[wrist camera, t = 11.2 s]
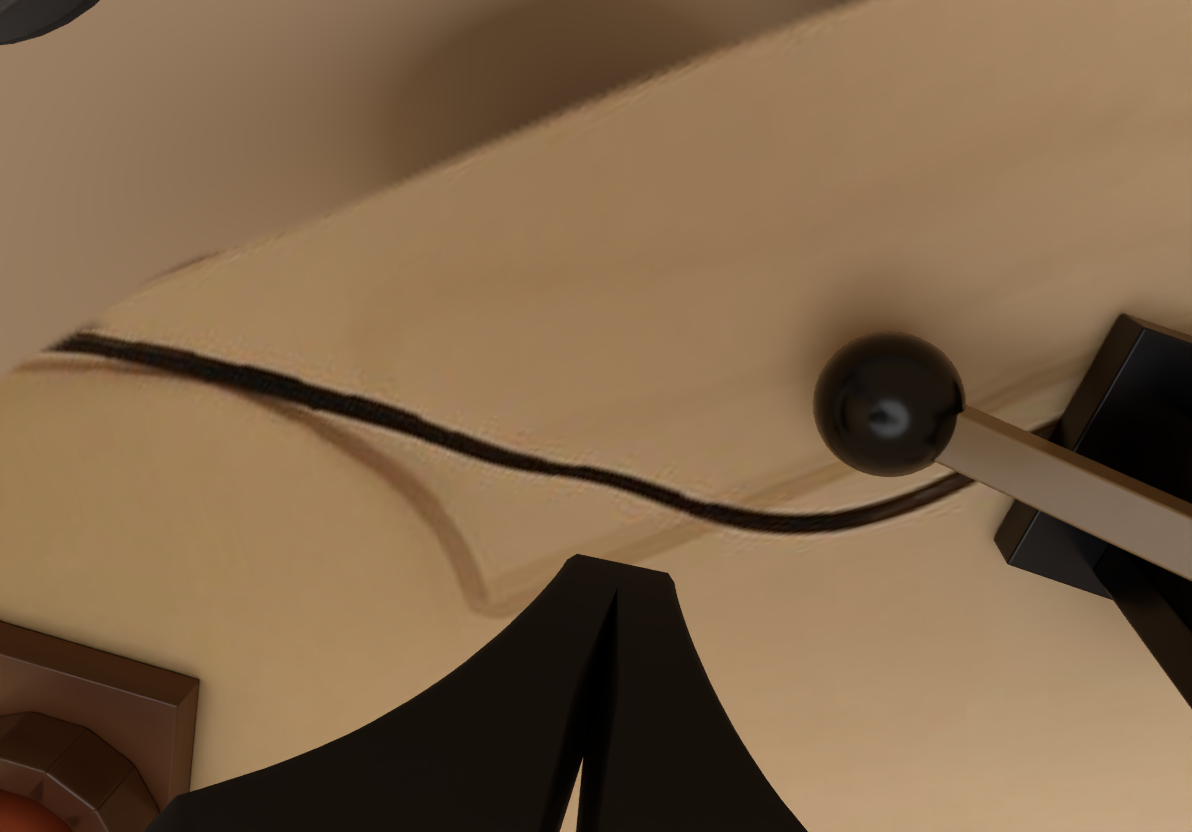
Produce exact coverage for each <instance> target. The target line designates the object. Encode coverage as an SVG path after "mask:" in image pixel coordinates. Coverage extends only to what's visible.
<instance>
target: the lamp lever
mask: <svg viewBox="0 0 1192 832" xmlns="http://www.w3.org/2000/svg"><path fill="white" fill-rule="evenodd" d="M813 413H814V418H815V423H816V426H817V429H818V431H819V433H820V435H821V437H822V439H823V441H824V442H825V444H826V446H827V447H828V448H829V449H830V451H831V452H832V453H833V454H834V455H835V456H836V457H837V458H838V459H840V460H841V461H842V462H844V463H845V464H846V465H848V466H850V467H852V468H854V469H856V470H858V471H861V472H863V473H867V474H870V475H875V476H881V477H897V476H904V475H908V474H912V473H915V472H917V471H920V470H923V469H924V468H926V467H928V466H930V465H932V464H933V463H935V462H937V463H939V464H941V465H943V466H946V467H948V468H950V469H952V470H954V471H956V472H958V473H961V474H963V475H965V476H967V477H969V478H971V479H973V480H976V481H978V482H980V483H982V484H984V485H986V486H988V487H991V488H993V489H995V490H997V491H999V492H1001V493H1003V494H1006V495H1008V496H1010V497H1012V498H1014V499H1016V500H1019V501H1021V502H1023V503H1025V504H1027V505H1029V506H1031V507H1034V508H1036V509H1038V510H1040V511H1042V512H1044V513H1046V514H1049V515H1051V516H1053V517H1055V518H1057V519H1059V520H1061V521H1064V522H1066V523H1068V524H1070V525H1072V526H1074V527H1076V528H1079V529H1081V530H1083V531H1085V532H1087V533H1089V534H1091V535H1094V536H1096V537H1098V538H1100V539H1102V540H1104V541H1106V542H1109V543H1111V544H1113V545H1115V546H1117V547H1119V548H1121V549H1124V550H1126V551H1128V552H1130V553H1132V554H1134V555H1136V556H1139V557H1141V558H1143V559H1145V560H1147V561H1149V562H1151V563H1154V564H1156V565H1158V566H1160V567H1162V568H1164V569H1166V570H1169V571H1171V572H1173V573H1175V574H1177V575H1179V576H1181V577H1184V578H1186V579H1188V580H1190V581H1192V504H1191V503H1188V502H1186V501H1184V500H1182V499H1179V498H1177V497H1175V496H1173V495H1170V494H1168V493H1166V492H1163V491H1161V490H1159V489H1157V488H1154V487H1152V486H1150V485H1148V484H1145V483H1143V482H1141V481H1138V480H1136V479H1134V478H1132V477H1129V476H1127V475H1125V474H1122V473H1120V472H1118V471H1116V470H1113V469H1111V468H1109V467H1107V466H1104V465H1102V464H1100V463H1097V462H1095V461H1093V460H1091V459H1088V458H1086V457H1084V456H1081V455H1079V454H1077V453H1075V452H1072V451H1070V450H1068V449H1066V448H1063V447H1061V446H1059V445H1056V444H1054V443H1052V442H1050V441H1047V440H1045V439H1043V438H1041V437H1038V436H1036V435H1034V434H1031V433H1029V432H1027V431H1025V430H1022V429H1020V428H1018V427H1015V426H1013V425H1011V424H1009V423H1006V422H1004V421H1002V420H1000V419H997V418H995V417H993V416H990V415H988V414H986V413H984V412H981V411H979V410H977V409H975V408H972V407H970V406H968V405H966V400H965V392H964V387H963V384H962V380H961V378H960V376H959V374H958V372H957V370H956V368H955V367H954V365H953V363H952V362H951V361H950V360H949V358H948V357H947V356H946V355H945V354H944V353H943V352H942V351H941V350H939V349H938V348H937V347H936V346H934V345H933V344H931V343H930V342H928V341H926V340H924V339H922V338H920V337H917V336H914V335H911V334H906V333H902V332H878V333H872V334H869V335H866V336H862V337H860V338H858V339H855V340H853V341H851V342H850V343H848V344H846V345H845V346H843V347H842V348H841V349H840V350H838V351H837V352H836V353H835V354H834V355H833V356H832V357H831V358H830V360H829V361H828V362H827V363H826V365H825V366H824V368H823V370H822V371H821V373H820V375H819V378H818V380H817V383H816V387H815V391H814V397H813Z"/></svg>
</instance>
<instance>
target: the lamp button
mask: <svg viewBox="0 0 1192 832" xmlns="http://www.w3.org/2000/svg"><path fill="white" fill-rule="evenodd" d="M0 832H72V830H71V828H70V827H69V825H68V824H67V823H66V822H65V821H63V820H62V819H61V818H59V817H58V816H57V815H55V814H54V813H53V812H51V811H50V810H49V809H47V808H46V807H45V806H43V805H42V804H41V803H39V802H38V801H37V800H35V799H32V798H28V797H25V796H22V795H18V794H15V793H12V792H8V791H5V790H2V789H0Z"/></svg>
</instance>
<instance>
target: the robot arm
mask: <svg viewBox="0 0 1192 832" xmlns="http://www.w3.org/2000/svg"><path fill="white" fill-rule="evenodd" d="M582 759H583V765H582V775H581V786H580V796H579V807H578V817H577V828H576V832H808V831H807V830H806V829H805V828H804V826H803V825H802V824H801V823H800V822H799V820H798V819H797V818H796V817H795V816H794V814H793V813H792V812H791V811H790V810H789V808H788V807H787V806H786V805H785V803H784V802H783V801H782V800H781V798H780V797H779V796H778V794H777V793H776V792H775V790H774V789H773V787H772V786H771V785H770V783H769V782H768V781H767V779H766V778H765V776H764V775H763V773H762V772H761V770H760V769H759V767H758V766H757V764H756V763H755V761H754V760H753V758H752V757H751V755H750V754H749V752H748V750H747V749H746V747H745V745H744V744H743V742H742V741H741V739H740V737H739V735H738V734H737V732H736V730H735V729H734V727H733V725H732V723H731V721H730V720H729V718H728V716H727V714H726V712H725V710H724V708H723V707H722V705H721V703H720V701H719V699H718V697H717V695H716V693H715V691H714V689H713V687H712V685H711V683H710V681H709V679H708V676H707V674H706V672H705V670H704V667H703V665H702V663H701V661H700V658H699V656H698V654H697V651H696V649H695V647H694V644H693V642H692V639H691V637H690V634H689V631H688V629H687V626H686V623H685V620H684V617H683V614H682V611H681V608H680V605H679V601H678V598H677V594H676V589H675V584H674V581H673V580H672V578H671V577H670V575H669V574H668V573H665V572H661V571H656V570H651V569H646V568H642V567H637V566H632V565H628V564H623V563H618V562H613V561H609V560H604V559H599V558H594V557H590V556H585V555H580V554H576V555H574V556H573V557H571V558H569V559H567V561H566V562H565V564H564V565H563V567H562V568H561V570H560V571H559V572H558V573H557V575H556V576H555V577H554V578H553V580H552V581H551V582H550V583H549V584H548V585H547V587H546V588H545V589H544V590H543V591H542V592H541V593H540V594H539V595H538V596H537V598H536V599H535V600H534V601H533V602H532V603H531V604H530V605H529V606H528V607H527V608H526V609H525V610H524V611H523V612H522V613H520V614H519V615H518V616H517V617H516V618H515V619H514V620H513V621H512V622H511V623H510V624H509V625H508V626H507V627H506V628H505V629H504V630H503V631H502V632H500V633H499V634H498V635H497V636H496V637H495V638H493V639H492V640H491V641H490V642H489V643H487V644H486V645H485V646H484V647H483V648H481V649H480V650H479V651H478V652H477V653H475V654H474V655H473V656H472V657H471V658H469V659H468V660H467V661H466V662H464V663H463V664H462V665H460V666H459V667H458V668H456V669H455V670H454V671H452V672H451V673H450V674H448V675H447V676H445V677H444V678H443V679H441V680H440V681H438V682H437V683H435V684H434V685H432V686H431V687H429V688H428V689H426V690H425V691H423V692H422V693H420V694H419V695H417V696H416V697H414V698H412V699H411V700H409V701H407V702H406V703H404V704H402V705H401V706H399V707H397V708H395V709H394V710H392V711H390V712H388V713H387V714H385V715H383V716H382V717H380V718H378V719H376V720H375V721H373V722H371V723H369V724H367V725H365V726H363V727H361V728H360V729H358V730H356V731H354V732H352V733H350V734H348V735H345V736H343V737H341V738H339V739H336V740H334V741H332V742H330V743H327V744H325V745H323V746H321V747H318V748H316V749H313V750H311V751H309V752H306V753H304V754H301V755H299V756H296V757H294V758H291V759H289V760H286V761H284V762H281V763H278V764H275V765H273V766H270V767H267V768H265V769H261V770H258V771H255V772H252V773H249V774H246V775H243V776H240V777H236V778H233V779H230V780H227V781H224V782H221V783H218V784H214V785H211V786H208V787H205V788H202V789H199V790H195V791H192V792H188V793H184V794H181V795H178V796H176V797H175V798H174V799H173V800H172V801H171V802H170V803H169V804H168V805H167V806H166V807H165V808H164V809H163V810H162V812H161V813H160V814H159V815H158V816H157V817H156V818H155V819H154V820H153V821H152V822H151V823H150V824H149V825H148V826H147V827H146V828H145V829H144V830H143V831H142V832H560V829H561V826H562V822H563V819H564V816H565V813H566V810H567V807H568V803H569V800H570V797H571V794H572V791H573V787H574V784H575V781H576V778H577V775H578V772H579V768H580V765H581V762H582Z"/></svg>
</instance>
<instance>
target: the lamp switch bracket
mask: <svg viewBox="0 0 1192 832" xmlns="http://www.w3.org/2000/svg"><path fill="white" fill-rule="evenodd" d="M1049 441H1050V442H1052V443H1054V444H1056V445H1059V446H1061V447H1063V448H1066V449H1068V450H1070V451H1072V452H1075V453H1077V454H1079V455H1081V456H1084V457H1086V458H1088V459H1091V460H1093V461H1095V462H1097V463H1100V464H1102V465H1104V466H1107V467H1109V468H1111V469H1113V470H1116V471H1118V472H1120V473H1122V474H1125V475H1127V476H1129V477H1132V478H1134V479H1136V480H1138V481H1141V482H1143V483H1145V484H1148V485H1150V486H1152V487H1154V488H1157V489H1159V490H1161V491H1163V492H1166V493H1168V494H1170V495H1173V496H1175V497H1177V498H1179V499H1182V500H1184V501H1186V502H1188V503H1191V504H1192V336H1189V335H1186V334H1183V333H1180V332H1177V331H1174V330H1171V329H1168V328H1165V327H1163V326H1160V325H1157V324H1154V323H1151V322H1148V321H1145V320H1142V319H1139V318H1136V317H1133V316H1130V315H1127V314H1121V315H1120V316H1119V318H1118V320H1117V321H1116V323H1115V325H1114V327H1113V328H1112V330H1111V332H1110V334H1109V336H1108V337H1107V339H1106V341H1105V343H1104V344H1103V346H1102V348H1101V350H1100V352H1099V353H1098V355H1097V357H1096V359H1095V360H1094V362H1093V364H1092V366H1091V368H1090V369H1089V371H1088V373H1087V375H1086V376H1085V378H1084V380H1083V382H1082V383H1081V385H1080V387H1079V389H1078V391H1077V392H1076V394H1075V396H1074V398H1073V399H1072V401H1071V403H1070V405H1069V407H1068V408H1067V410H1066V412H1065V414H1064V415H1063V417H1062V419H1061V421H1060V422H1059V424H1058V426H1057V428H1056V430H1055V431H1054V433H1053V435H1052V437H1051V438H1050V440H1049ZM994 541H995V543H996V545H997V547H998V548H999V550H1000V552H1001V554H1002V556H1003V557H1004V559H1005V561H1006V563H1007V564H1008V565H1011V566H1014V567H1017V568H1020V569H1023V570H1026V571H1029V572H1032V573H1035V574H1038V575H1041V576H1043V577H1046V578H1049V579H1052V580H1055V581H1058V582H1061V583H1064V584H1067V585H1070V586H1073V587H1076V588H1079V589H1082V590H1084V591H1087V592H1090V593H1093V594H1096V595H1099V596H1102V597H1105V598H1108V599H1111V600H1113V601H1114V602H1115V603H1116V605H1117V606H1118V608H1119V609H1120V610H1121V612H1122V613H1123V615H1124V616H1125V617H1126V619H1127V620H1128V621H1129V623H1130V624H1131V626H1132V627H1133V628H1134V630H1135V631H1136V633H1137V634H1138V635H1139V637H1140V638H1141V640H1142V641H1143V642H1144V644H1145V645H1146V646H1147V648H1148V649H1149V651H1150V652H1151V653H1152V655H1153V656H1154V658H1155V659H1156V660H1157V662H1158V663H1159V664H1160V666H1161V667H1162V669H1163V670H1164V671H1165V673H1166V674H1167V676H1168V677H1169V678H1170V680H1171V681H1172V682H1173V684H1174V685H1175V687H1176V688H1177V689H1178V691H1179V692H1180V694H1181V695H1182V696H1183V698H1184V699H1185V701H1186V702H1187V703H1188V705H1189V706H1190V707H1191V709H1192V581H1190V580H1188V579H1186V578H1184V577H1181V576H1179V575H1177V574H1175V573H1173V572H1171V571H1169V570H1166V569H1164V568H1162V567H1160V566H1158V565H1156V564H1154V563H1151V562H1149V561H1147V560H1145V559H1143V558H1141V557H1139V556H1136V555H1134V554H1132V553H1130V552H1128V551H1126V550H1124V549H1121V548H1119V547H1117V546H1115V545H1113V544H1111V543H1109V542H1106V541H1104V540H1102V539H1100V538H1098V537H1096V536H1094V535H1091V534H1089V533H1087V532H1085V531H1083V530H1081V529H1079V528H1076V527H1074V526H1072V525H1070V524H1068V523H1066V522H1064V521H1061V520H1059V519H1057V518H1055V517H1053V516H1051V515H1049V514H1046V513H1044V512H1042V511H1040V510H1038V509H1036V508H1034V507H1031V506H1029V505H1027V504H1025V503H1023V502H1021V501H1019V500H1016V501H1015V502H1014V504H1013V506H1012V508H1011V509H1010V511H1009V513H1008V515H1007V517H1006V518H1005V520H1004V522H1003V524H1002V525H1001V527H1000V529H999V531H998V532H997V534H996V536H995V538H994Z"/></svg>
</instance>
